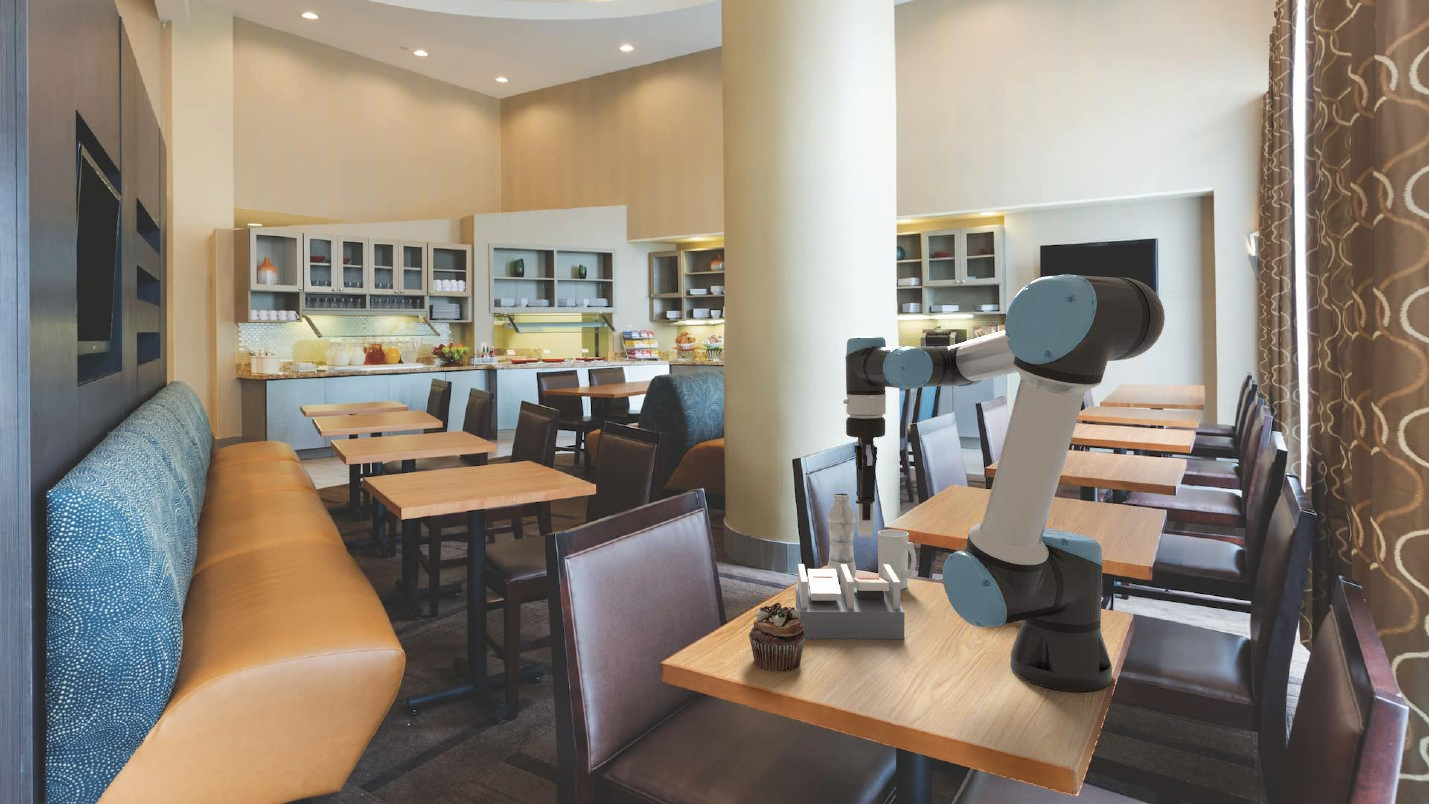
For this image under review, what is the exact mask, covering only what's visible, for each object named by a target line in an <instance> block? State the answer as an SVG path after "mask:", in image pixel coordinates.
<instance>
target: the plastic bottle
mask: <svg viewBox="0 0 1429 804" xmlns="http://www.w3.org/2000/svg"><path fill="white" fill-rule="evenodd" d="M832 503H834V504H833V505H832V507H831V508H830V509H829V511H828V512H827V513H828V514H827V516H826V517H827V525H828V532H829V556H828V563H827V568H826V569H835V570H836V574H837V579H838V582H840V564H847V567H848V569H849V571H850V574H851V576H852V578H856V577H855V576H856V573H857V567H856V561H855V553H854V533H855V526H856V514H855V513H854V511H853V509H852V507H851V506H850V503H851V499H850V494H849V493H846V492H836V493H833V500H832Z"/></svg>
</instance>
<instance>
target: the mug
mask: <svg viewBox="0 0 1429 804" xmlns="http://www.w3.org/2000/svg"><path fill="white" fill-rule="evenodd" d="M909 535H910V534H909V532H908V531H905V530H901V529H882V530H879V531H878V532H877V558H878V560H877V562H878V563H877V565H878V571H877V573H878V578H881V579H883V564H889V565H890V566H891V568H892V570H893V571H894V573H895V574H896V576H897V578H898V579H899V581H900V590H903V589H906V588H908V581H909V580H910V579H913V577H914V573H915V570H916V568H917V554H916V550H915V547H914V542H909V541H910V540H909V538H910V537H909ZM909 554H910V557H911V558H910V559H911V561H910V562H911V563H910V567H909ZM908 579H909V580H908Z"/></svg>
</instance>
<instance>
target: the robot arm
mask: <svg viewBox="0 0 1429 804" xmlns="http://www.w3.org/2000/svg"><path fill="white" fill-rule="evenodd" d="M1165 319H1166V318H1165V309H1164V305H1163V302H1162V301H1161V299H1160V297H1159V296H1158V294H1157V293H1156V292H1155V291H1154V290H1153V289H1152V288H1151V287H1149V286H1148V284H1145V283H1144V282H1141V281H1139V280H1136V279H1133V278H1131V277H1119V276H1115V277H1114V276H1112V277H1110V276H1093V275H1079V274H1078V275H1077V274H1075V275H1074V274H1071V273H1067V274H1066V273H1065V274H1059V275H1049V276H1042V277H1039V278H1037V279H1035V280H1032V282H1030V283H1029V284H1027V285H1025V286H1023V288H1021V290H1019V291H1018V292H1017V294H1016V295H1015V296H1014V298H1013V300H1012V301H1011V303H1010V305H1009V307H1008V310H1007V312H1006V315H1005V321H1004V330H1002V331H997V332H994V333H991V334H987V335H983V336H980V337H976V338H973V339H970V340H966V341H964V342H959V343H957V344H952V345H944V346H942V345H941V346H929V345H928V346H915V345H914V346H912V345H909V346H908V345H907V346H906V345H902V346H901V345H900V346H887V344H886V343H887V342H886V339H885V337H883V336H853V337H852V336H851V337H850V338H849V339H847V341H846V353H845V354H846V355H845V357H844V358H845V385H846V386H845V388H846V389H845V390H846V398H845V399H843V400H842V401H843V402H842V404H844V405H846V406H845V407H846V408H845V409H846V414H847V415H849V416H847V418H845V433H846V436H848V437H850V438H857V444H854V446H853V448H854V452H853V453H855V467H856V468H855V470H856V472H855V474H856V496H857V499H856V500H855V504H857V535H858V537H873V536H874V503H875V501H876V498H875V497H876V496H875V494H876V469H877V460H878V457H877V455H878V446H876V444H874V438H882V437H885V435H886V418H885V417H884V415H885V414H886V413H887V411H886V410H887V409H886V408H887V407H886V404H887V402H886V401H887V400H886V399H887V397H886V396H887V394H886V388H893V389H894V388H895V389H899V390H912V389H919V388H927V387H928V388H929V387H953V386H954V387H955V386H957V387H969V386H973V385H977V384H979V383H980V382H982V381H983V380H985V379H986V380H987V379H992V378H995V377H1001V376H1006V375H1010V374H1014V373H1018V375H1019V376H1020V379H1019V383H1018V387H1017V390H1016V395H1015V399H1014V403H1013V406H1012V410H1011V415H1010V417H1009V421H1008V425H1007V428H1006V432H1005V437H1004V440H1003V445H1002V448H1001V451H1000V454H999V459H998V463H997V465H996V470H995V474H994V477H993V482H992V486H991V488H990V489H991V490H990V493H989V496H988V501H987V504H986V508H985V511H984V516H983V520H982V521H981V522H979V523H977V524H974V525H973V526H972V527H970V528H969V532H968V535H967V538H966V543H965V546H964V549H963V550H961V549H959V550H956V551H955V552H953V553H951V554H949V555H948V556H947V557H946V559H945V561H944V563H943V567H942V583H943V588H944V591H945V593H946V596H947V599H948V601H949V603H950V605H951V607H952V608H953V610H954V611H955V613H956V614H957V615H958V616H959V617H960V618H962V620H964V621H965V622H966V623H968V624H970V625H971V626H973V627H974V626H975V627H977V628H989V627H994V628H995V627H997V628H998V627H1001V626H1004V625H1006V624H1007V625H1008V624H1011V623H1016V622H1021V624H1020V627H1019V629H1018V632H1017V635H1016V637H1015V640H1014V643H1013V645H1012V648H1011V651H1010V669H1011V670H1012V672H1014V673H1015V674H1016V675H1017V676H1018V677H1020V678H1021V679H1023V680H1025V681H1028V682H1030V683H1031V684H1035V685H1037V686H1041V687H1045V688H1049V689H1053V690H1060V691H1067V692H1093V691H1099V690H1102V689H1105V688H1107V687H1108V686H1110V685H1111V683H1112V682H1113V681H1112V680H1113V665H1112V662H1111V658H1110V656H1109V652H1108V649H1107V646H1106V644H1105V641H1104V637H1103V634H1102V629H1101V627H1102V626H1101V623H1102V620H1101V619H1102V593H1103V592H1102V591H1103V586H1102V585H1103V568H1104V562H1103V552H1102V549H1103V548H1102V546H1101V544H1100V543H1099V542H1098V541H1097V540H1096V539H1095V538H1093V537H1090V536H1087V535H1084V534H1079V533H1075V532H1071V531H1065V530H1061V529H1060V530H1058V529H1057V530H1056V529H1051V528H1046V526H1047V523H1048V519H1049V516H1050V513H1051V509H1052V506H1053V503H1054V499H1055V496H1056V492H1057V489H1058V485H1059V482H1060V479H1061V475H1062V472H1063V468H1064V465H1065V462H1066V459H1067V455H1068V452H1069V448H1070V445H1071V441H1072V439H1073V436H1074V432H1075V428H1076V426H1077V422H1078V419H1079V415H1080V411H1081V408H1082V405H1083V401H1084V400H1085V398H1084V397H1085V395H1086V393H1087V392H1088V391H1090V390H1092V389H1094V388H1096V387H1098V386H1099V385H1101V384H1102V381H1103V378H1104V375H1105V371H1106V367H1107V364H1108V362H1112V361H1113V362H1115V361H1123V360H1130V359H1134V358H1136V357H1138V356H1140V355H1142V354H1144V353H1146V352H1147V351H1148V350H1149V349H1151V348H1152V347H1153V346H1154V345H1155V343H1157V341H1158V340H1159V338H1160V336H1161V335H1162V332H1163V330H1164V325H1165Z"/></svg>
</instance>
